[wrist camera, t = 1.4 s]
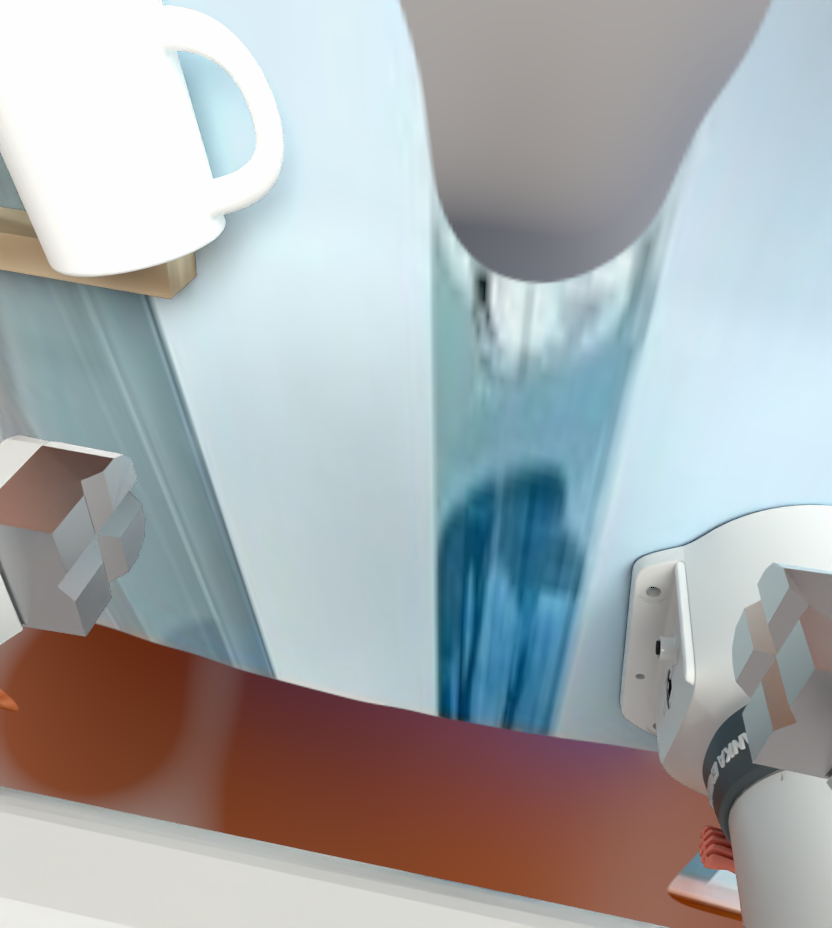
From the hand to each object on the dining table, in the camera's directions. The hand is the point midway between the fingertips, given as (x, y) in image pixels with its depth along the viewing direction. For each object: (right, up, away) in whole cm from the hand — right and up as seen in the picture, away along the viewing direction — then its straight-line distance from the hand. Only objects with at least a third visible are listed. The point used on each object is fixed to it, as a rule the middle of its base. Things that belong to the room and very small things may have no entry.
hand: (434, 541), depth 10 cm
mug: (-11, +18, +24) cm, 32 cm away
